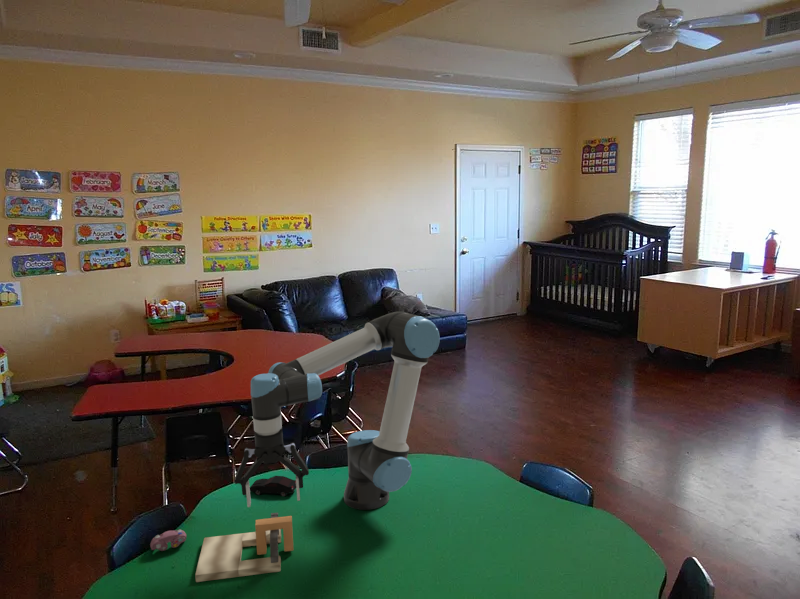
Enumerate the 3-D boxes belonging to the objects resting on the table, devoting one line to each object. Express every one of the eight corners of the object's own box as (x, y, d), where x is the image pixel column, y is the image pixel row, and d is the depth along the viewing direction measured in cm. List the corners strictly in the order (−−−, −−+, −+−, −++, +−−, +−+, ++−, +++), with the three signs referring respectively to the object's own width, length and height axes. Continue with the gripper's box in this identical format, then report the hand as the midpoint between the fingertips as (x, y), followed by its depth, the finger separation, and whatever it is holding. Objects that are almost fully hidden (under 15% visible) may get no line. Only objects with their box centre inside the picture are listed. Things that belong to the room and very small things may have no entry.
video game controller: (151, 559, 170) (151, 544, 166) (149, 545, 173) (148, 531, 169) (187, 549, 175) (188, 534, 171) (185, 536, 178) (185, 521, 174)
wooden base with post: (281, 534, 178) (279, 510, 177) (280, 571, 161) (279, 544, 159) (204, 544, 174) (202, 518, 173) (195, 582, 157) (193, 554, 155)
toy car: (256, 486, 209) (255, 473, 208) (298, 489, 207) (298, 475, 206) (248, 496, 203) (247, 482, 202) (292, 498, 200) (291, 484, 199)
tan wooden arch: (293, 544, 171) (291, 515, 170) (293, 550, 168) (291, 521, 167) (257, 548, 170) (255, 519, 168) (257, 554, 167) (255, 525, 165)
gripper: (313, 420, 169) (318, 489, 173) (222, 429, 164) (229, 500, 168) (314, 430, 162) (319, 502, 165) (219, 440, 157) (226, 514, 161)
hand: (274, 501), depth 167 cm, fingers open, 13 cm apart
